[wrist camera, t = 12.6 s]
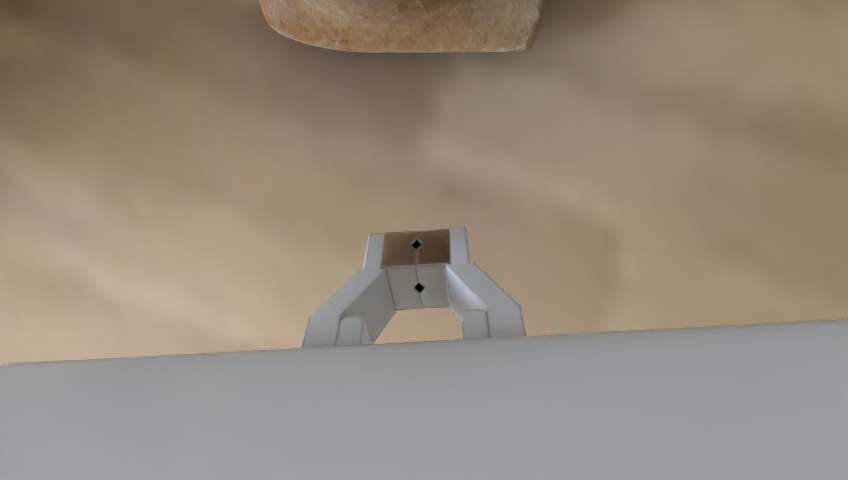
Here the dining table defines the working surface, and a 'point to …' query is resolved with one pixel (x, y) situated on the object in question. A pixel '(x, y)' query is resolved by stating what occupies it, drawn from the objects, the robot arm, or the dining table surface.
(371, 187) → the dining table surface
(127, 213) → the dining table surface
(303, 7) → the stone cup
